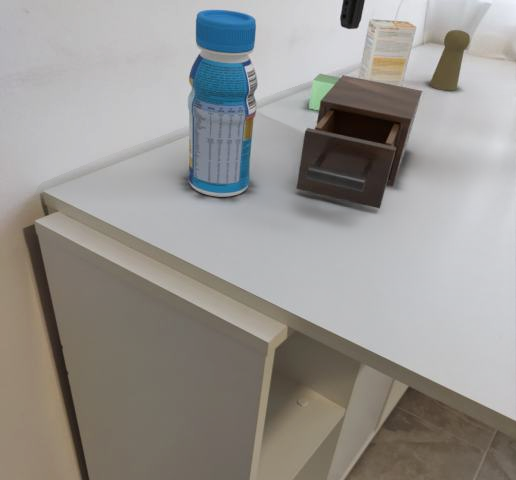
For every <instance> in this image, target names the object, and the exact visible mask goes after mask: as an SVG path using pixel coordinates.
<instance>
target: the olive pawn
mask: <svg viewBox="0 0 516 480" xmlns="http://www.w3.org/2000/svg"><path fill="white" fill-rule="evenodd" d="M470 41H471V37H470V34H469V33H468V32H466V31H463V30H460V29H453V30H449V31H448V32H447V33H446V35H445V36H444V39H443V44H444V48H443V51H442V53H441V55H440V58H439V60H438V63H437V65H436V67H435V70H434V73H433V74H432V77H431V79H430V82H429V86H430V87H432V88H434V89H436V90H441V91H448V92H451V91H456V90H457V89H458V83H459V78H460V73H461V68H462V62H463V57H464V54H465V53H464V52H465V50H466V49H467V48H468V47H469V45H470Z"/></svg>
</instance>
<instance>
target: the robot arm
mask: <svg viewBox="0 0 516 480" xmlns="http://www.w3.org/2000/svg"><path fill="white" fill-rule="evenodd" d="M365 2H366V0H342V4H341V5H342V6H341V11H340V18H339V21H340V26H341V27H342V28H344V29H347V30H356V29H358V28H359V27H360V23H361V21H362V17H363V12H364V7H365Z"/></svg>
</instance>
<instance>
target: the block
mask: <svg viewBox="0 0 516 480" xmlns="http://www.w3.org/2000/svg"><path fill="white" fill-rule="evenodd" d="M340 78H341V76H336V75H335V76H333V75H330V74H329V75H328V74H323V73H318V74H317V76H316V77H314V79H313V80H312V83H311V92H310V97H309V103H308V104H309V105H308V109H309V110H314V111H318V112H319V108H320V102H321V100H322V99H323V97H324V96H325V95H326V94H327V93H328V92H329V90H330V89H331V88H332V87H333V86H334V85H335V83H336V82H337V81H338V80H339V79H340Z"/></svg>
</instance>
